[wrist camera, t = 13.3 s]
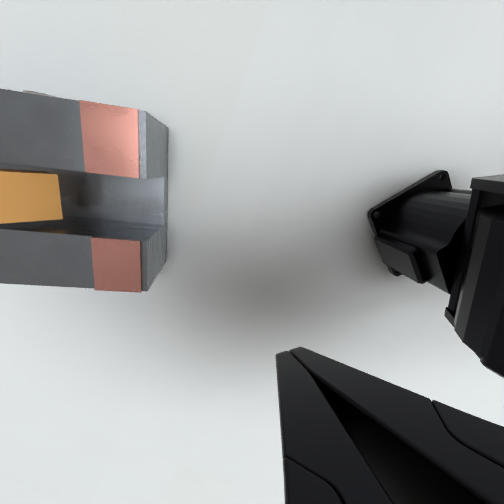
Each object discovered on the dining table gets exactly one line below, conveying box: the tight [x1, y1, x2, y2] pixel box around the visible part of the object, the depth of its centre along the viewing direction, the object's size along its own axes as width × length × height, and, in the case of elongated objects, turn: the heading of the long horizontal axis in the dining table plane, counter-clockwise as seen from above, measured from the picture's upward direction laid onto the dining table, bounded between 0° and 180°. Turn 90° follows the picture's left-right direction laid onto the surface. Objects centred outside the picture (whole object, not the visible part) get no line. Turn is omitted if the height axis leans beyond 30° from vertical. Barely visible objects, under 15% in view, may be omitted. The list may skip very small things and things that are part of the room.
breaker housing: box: [0, 89, 168, 292], centre depth 14 cm, size 11×10×5 cm
